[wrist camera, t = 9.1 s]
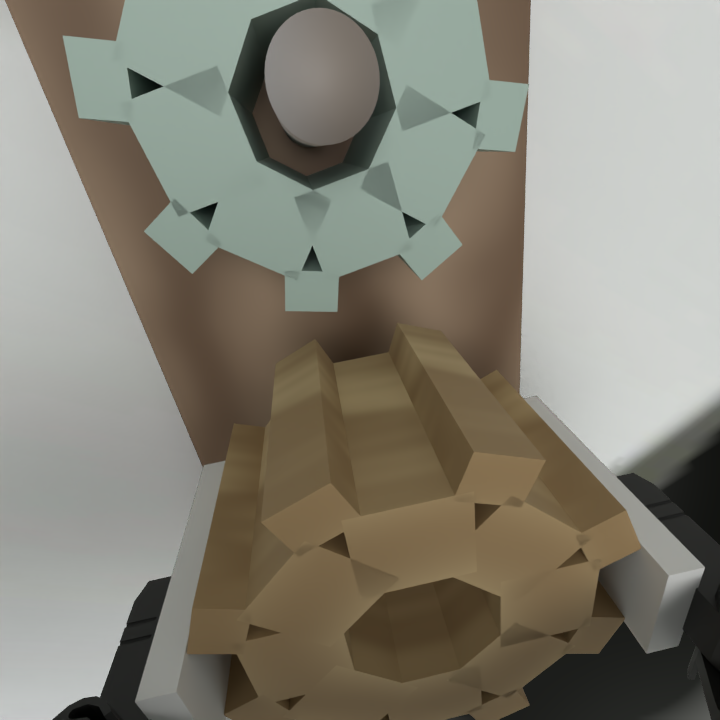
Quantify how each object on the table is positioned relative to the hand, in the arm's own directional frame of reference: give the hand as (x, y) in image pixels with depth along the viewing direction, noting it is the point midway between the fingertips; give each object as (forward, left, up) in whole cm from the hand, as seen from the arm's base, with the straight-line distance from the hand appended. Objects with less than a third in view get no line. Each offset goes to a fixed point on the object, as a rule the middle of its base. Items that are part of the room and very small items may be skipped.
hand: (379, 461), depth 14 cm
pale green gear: (0, +11, -6) cm, 12 cm away
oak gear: (0, 0, 0) cm, 0 cm away
